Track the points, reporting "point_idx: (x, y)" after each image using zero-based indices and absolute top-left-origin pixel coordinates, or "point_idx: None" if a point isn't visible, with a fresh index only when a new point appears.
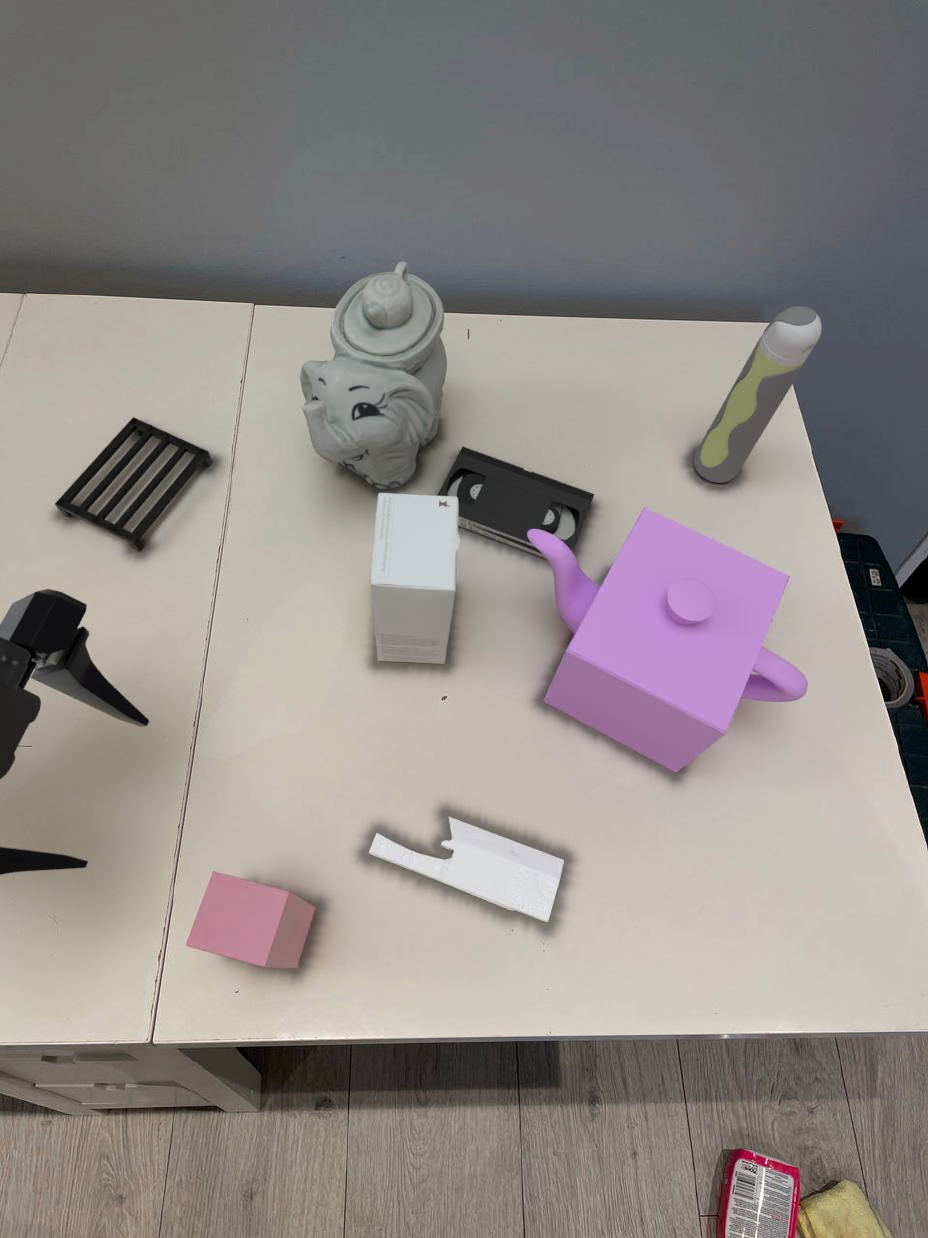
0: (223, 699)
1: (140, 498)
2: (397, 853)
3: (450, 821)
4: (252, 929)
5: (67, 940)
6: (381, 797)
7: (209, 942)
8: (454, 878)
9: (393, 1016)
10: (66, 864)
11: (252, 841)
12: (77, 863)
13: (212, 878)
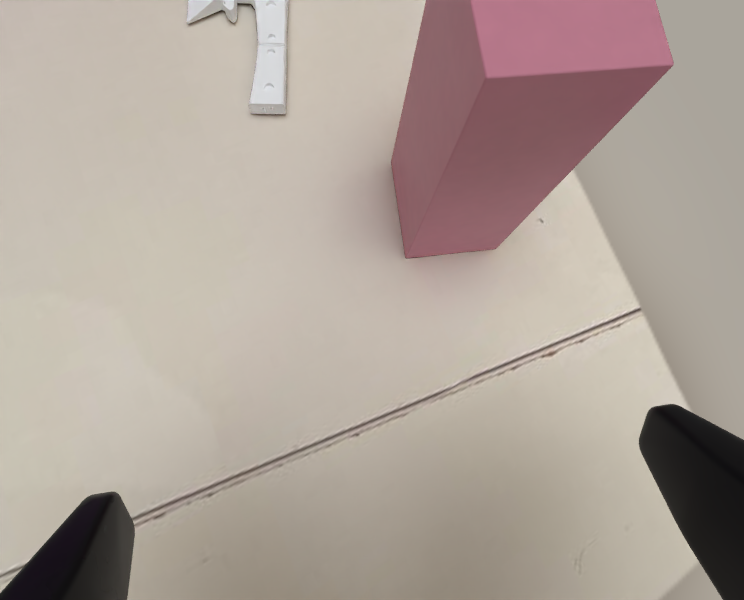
0: (90, 485)
1: None
2: (269, 64)
3: (193, 14)
4: None
5: (597, 515)
6: (190, 130)
7: (640, 13)
8: None
9: None
10: (738, 448)
11: (333, 298)
12: (695, 423)
13: (503, 71)
